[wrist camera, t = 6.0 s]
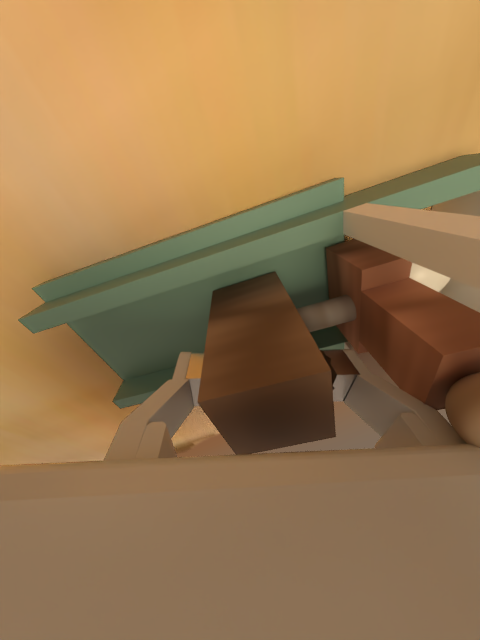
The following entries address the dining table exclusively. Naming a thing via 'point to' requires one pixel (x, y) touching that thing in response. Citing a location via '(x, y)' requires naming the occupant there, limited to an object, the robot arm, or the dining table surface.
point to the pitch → (263, 268)
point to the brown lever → (311, 367)
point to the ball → (428, 277)
